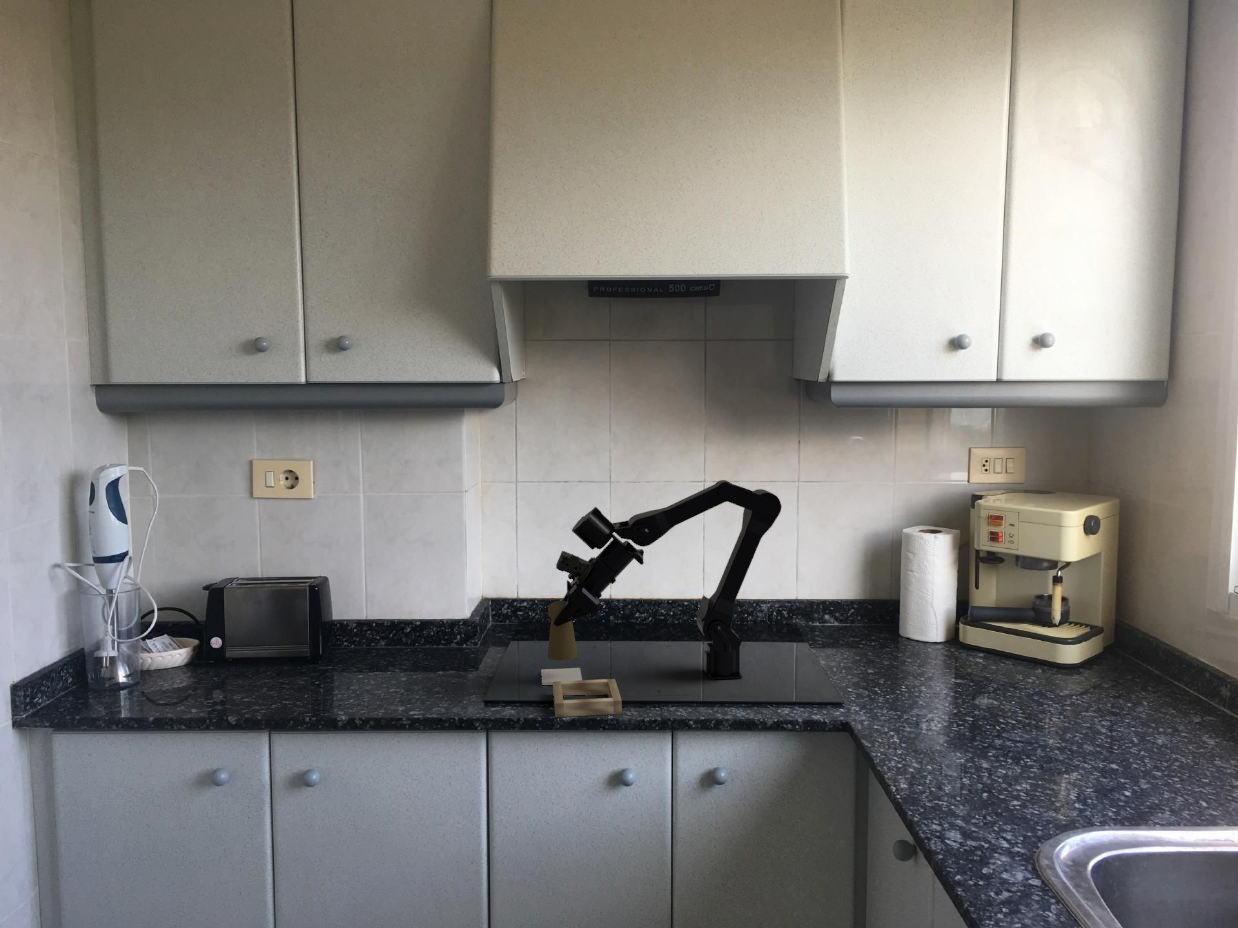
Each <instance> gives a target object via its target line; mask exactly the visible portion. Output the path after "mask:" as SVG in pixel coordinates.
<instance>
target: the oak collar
mask: <svg viewBox="0 0 1238 928" xmlns="http://www.w3.org/2000/svg"><path fill="white" fill-rule="evenodd" d="M604 694H606V695H608V697H607V698H605V697H603V698H600V697H599V698H582V699H565V700H564V697H563V695H585V696H600V695H601V696H602V695H604ZM552 695H553V696H554V698H553V707H554V715H555V718H564V717H566V718H567V717H568V718H569V717H581V716H583V717H585V716H601V715H602V716H604V715H622V714H623V710H622V709H623V706H622V704H623V703H622V698H621V694H620V691H619V687H618V685H617V681H616V678H607V679H606V678H605V679H604V678H602V679H584V680H583V679H582V680H579V681H557V682H553V686H552ZM553 696H552V697H553Z"/></svg>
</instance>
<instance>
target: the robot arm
mask: <svg viewBox="0 0 1238 928" xmlns="http://www.w3.org/2000/svg"><path fill="white" fill-rule="evenodd" d="M727 502H728V503H730V504H733V505H734V506H738V507H741V508H743V513H742V523H741V530H740V532H739V534H738V537H737V540H736V541H735V544H734V546H733V549H732V551H731V554H730V556H729V559H728V561H727V564H726V565H725V568H724V571H723V574H722V575H721V578H720V580H719V583H718V585H717V587H716V590H715V591H714V592H713V594H712V595H711V596H710V597H709V598H708V597H707V596H705V595H702V598H701V602H700V606H699V608H698V610H696V611H695V615H696V616H697V618H696V624H697V627H698V628H699V630H700V631H701V633H702V634H703V636H704V637H705V638H706V640H708V641H709V642H706V650H704V651H703V671H704V672H705V673H706V675H708V677H709V679H711V680H727V679H729V680H730V679H742V678H743V674H742V673H741V662H740V661H741V658H740V657H741V656H740V655H741V648H740V647H741V645H742V642H743V641H742V639H741V638H740V637H739V636H738V634H737V633H736V631H735V630H734V629H733V628H732V625H733V621H734V616H735V603H736V600H737V597H738V595H739V593H740V590H741V588H742V585H743V584H744V583H743V582H744V580H745V578H746V576H747V573H748V571H749V568H750V566H751V563H752V561H753V559H754V557H755V554H756V552H757V549H758V546H759V544H760V543H761V540H762V538H763V536H765V534H766V533H767V532H769V530H770V529H771V528H772V527H773V525H774V523H775V522H776V520H777V518H778V517H779V516H780V513H781V512H782V503H781V500H780V499H779V497H778V496H777V495H776V494H774V493H773V492H770V491H769V490H766V489H764V488H763V489H762V488H760V489H759V488H758V489H757V488H756V489H755V490H751V489H748V488H746V487H743V486H739V485H737V484H734V483H732V482H731V481H728V480H725V479H720V480H718V481H716V483H714V484H713V485H709V486H708V487H706V488H704V489H702V490H700V491H698V492H695V493H693V494H690V495H689V496H687V497H685V498H682V499H680V500H678V501H676V502H674V503H672V504H670V505H668V506H666V507H661V508H657V509H652V510H648V511H644V512H640V513H636V514H634V515H632V516H631V517H630V518H629V519H628V520H623V521H617V522H611V520H610V519H608V518H607V516H605V515H604V514H603V513H602V511H601V510H600V509H599V508H598V507H597V506H594V507H593V508H592V510H590V511H588V512H587V513H586V514H585V515H582V517H580V519H579V520H578V521H577V522H576V523H575V524H574V525H573V527H572V529H571V532H572V533H573V534H574V535H575V536H577V538H579V539H580V540H581V541H582V542H583V543H584V544H586V546H587V547H588V548H590V549H591V550H595V549H597V550H601V552H600V553H599V554H598V555H597V556H596V557H594V556H593V557H592V556H591V557H590V558H589V559H588V560H586V559H583V558H582V557H579V556H577V555H574V554H573V553H570V552H567V551H565V550H561V553H560V555H559V558H558V559H557V561H556V563H555V566H556V567H555V568H556V570H557V571H560V572H565V573H567V574H568V575H567V576H568V577H567V579H569V580H571V582H570V581H569V580H566V592H565V595H564V597H563V598H562V599H561V601H567V603H566V604H565V606H564V607H563V609H562V610H561V612H560V613H559V614H558V616H557V617H556V619H555V620H554V622H553V624H554V625H555V626H560V625H562V624H565V623H567V622H569V621H572V622H573V621H574V620H576V619H578V618H582V617H585V616H587V615H590V616H592V617H594V616H595V615H596V614H597V613H598V612H599V611H600V608H601V607H600V606H601V605H600V603H601V602H600V598H601V597H602V596H603V595H602V593H603V592H604V591H605V590H606V589H607V588H608V587H609V586H610V585H611V584H612V585H614V583H616V581H617V580H616V578H617V577H619V575H621V573H622V572H623V571H624V570H625V569H626V568H627V567H628V566H629V565H630V564H631V563H632V561H634V560H635V561H636V562H637V563H638V564H639V565H642V566H643V565H644V553H645V551H644V550H643V547H648V546H650V545H651V546H652V544H654V543H655V542H656V541H658V540H659V539H660V538H662V537H663V536H664V535H665V534H667V533H668V532H669V531H671V529H673V528H675V527H676V526H677V525H680V524H682V523H683V522H686V521H688V520H691V519H692V518H694V517H696V516H699V515H700V514H703V513H705V512H707V511H710V510H711V509H714V508H716V507H717V506H719V505H720V506H721V505H722V504H724V503H727ZM615 534H616V535H617V536H618V537H619V538H620V539H619V538H618V537H617V536H616V535H615ZM611 539H612V540H611ZM622 540H624V541H622ZM630 541H631V542H632V543H634V545H636V546H638V547H642V548H641V549H639V548H638V549H637V548H636V547H635V546H634V545H633V544H632V543H630Z"/></svg>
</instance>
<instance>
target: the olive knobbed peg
mask: <svg viewBox="0 0 1238 928" xmlns="http://www.w3.org/2000/svg"><path fill="white" fill-rule="evenodd" d="M566 603H567V601H562V600H558V601H557V600H556V601H553V602H551V603H550V605H549V606H548V610H547V611H548V616H549V617H550V619H551V620H550V629H549V639H548V648H547V658H548V659H550V660H554V661H567V660H569V661H570V660H572V659H576V658H577V657H578V649H577V644H576V638H575V631H574V624H573V620H572V621H569V622H567V623H565V624H562V625H560V626H555V625H554V624H553V622H554V620H555V619H556V617H557V616H558V614H559V613H560V612H561V610H562V609H563V607H564V606H565V604H566Z"/></svg>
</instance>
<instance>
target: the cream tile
mask: <svg viewBox="0 0 1238 928" xmlns="http://www.w3.org/2000/svg"><path fill="white" fill-rule="evenodd" d="M540 672H541V673H540V675H541V676H542V677H541V686H542V685H553V682H557V681H579V680H583V678H582V677H583V676H582V671H581V667H569V668H567V667H566V668H545V669H543V668H542V669H540Z"/></svg>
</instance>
